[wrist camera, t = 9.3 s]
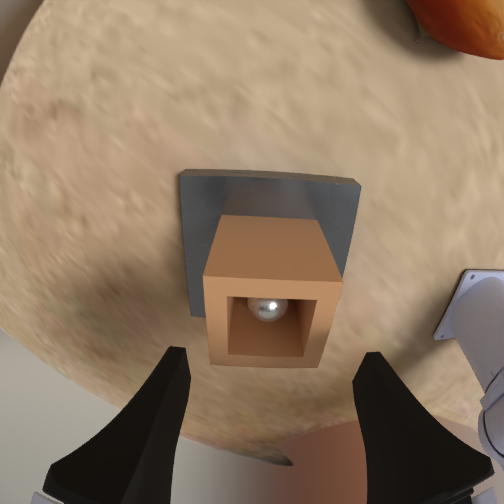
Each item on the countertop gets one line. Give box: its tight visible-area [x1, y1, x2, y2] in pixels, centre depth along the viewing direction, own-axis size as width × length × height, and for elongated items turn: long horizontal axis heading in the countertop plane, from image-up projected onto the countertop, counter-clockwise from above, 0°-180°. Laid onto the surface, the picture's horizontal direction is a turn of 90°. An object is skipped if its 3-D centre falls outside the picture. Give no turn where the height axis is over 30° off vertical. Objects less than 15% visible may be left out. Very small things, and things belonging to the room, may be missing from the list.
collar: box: [203, 215, 343, 368], centre depth 15 cm, size 5×5×6 cm
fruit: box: [405, 0, 504, 60], centre depth 7 cm, size 8×8×8 cm
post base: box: [180, 169, 361, 322], centre depth 16 cm, size 10×10×6 cm
